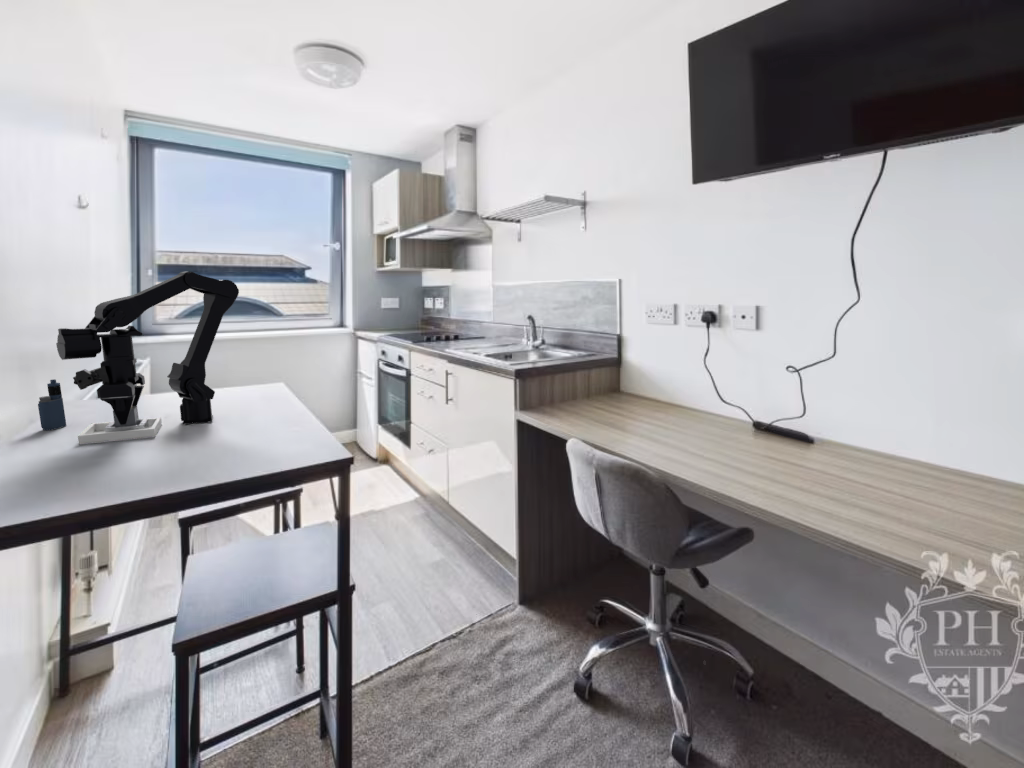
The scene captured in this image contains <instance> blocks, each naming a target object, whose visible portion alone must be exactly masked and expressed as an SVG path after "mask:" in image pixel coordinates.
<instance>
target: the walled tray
mask: <svg viewBox="0 0 1024 768" xmlns="http://www.w3.org/2000/svg"><path fill="white" fill-rule="evenodd" d="M147 419H148V422H149V429H138V430H127V431H117V432H106V433H105V427H106V426H107V425H108V424H109V423H110V422H111V421H107V422H105V421H104V422H94V423H90V424H89V425H88V426H87V427H86V428H85V429H84V430H82V431H81V432H80V433H79V434H78V435H77V438H78V439H77V440H78V441H77V442H78V445H86V444H87V445H89V444H96V443H97V444H98V443H107V442H116V441H117V442H119V441H128V440H138V439H146V438H147V439H149V438H155V437H156V436H157V434H158V433H159V431H160V429H161V428H162V426H163V424H162V423H163V422H162V417H153V418H152V417H151V418H147Z"/></svg>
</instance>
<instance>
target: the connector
mask: <svg viewBox="0 0 1024 768" xmlns="http://www.w3.org/2000/svg"><path fill="white" fill-rule="evenodd" d="M112 414H113V420H114V421H113V422H114V424H115V427H118V426H129V425H139V419H140V417H139V411H138V405H137V406H132V407H131V411H130V414H129V417H128V420H127V423H126V424H124V425H120V423H119V421H118V419H117V417H116V415H115V413H114V410H113V409H112Z"/></svg>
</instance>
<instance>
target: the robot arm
mask: <svg viewBox="0 0 1024 768" xmlns="http://www.w3.org/2000/svg"><path fill="white" fill-rule="evenodd" d="M188 290H192V291H195V292H198V293H201V294H203V297H202V300H203V311H202V313H201V316H200V319H199V321H198V323H197V327H196V329H195V331H194V334H193V337H192V340H191V343H190V345H189V346H188V350H187V352H186V355H185V357H184V359H183V360H182V361H181V362H180V363H178V362H173V363H172V365H171V369H170V370H171V371H170V373H169V374H168V375H167V378H169V379H168V385H169V387H170V389H171V390H173V392H176V393H177V396H178V397H179V398H181V404H180V406H179V412H180V419H181V422H182V424H183V425H191V424H202V423H203V424H204V423H211V422H212V423H213V419H214V414H213V410H212V401H211V400H213V399H214V396H215V393H216V391H215V390H214V389H212V388H211V387H209V386H208V385H207V384H206V383H205V382H206V376H207V374H206V373H207V372H206V362H207V359H208V357H209V355H210V354H209V353H210V351H211V348H212V346H213V344H214V341H215V338H216V336H217V334H218V330H219V328H220V325H221V322H222V319H223V316H224V315H225V313H226V312H227V311H229V310H230V308H231V307H232V306H233V305H234V304H235V301H236V300H237V299H238V297H239V293H240V292H239V291H240V290H239V287H238V286H237V284H236V283H235V282H234V281H232V280H229V279H217V278H213V277H209V276H205V275H201V274H200V273H199V274H198V273H196V272H194V271H181V272H179V273H177V274H176V275H174V276H172V277H169V278H168V279H165V280H162V281H161V282H159V283H157V284H155V285H153V286H150V287H148V288H145V289H144V290H142V291H139V292H137V293H134V294H133V295H127V296H123V297H118V298H115V299H111V300H106V301H103V302H100V303H99V304H97V305H96V306H95V309H94V317H92V319H91V320H90V321H89V322H88V324H87V325H86V326H85V327H84V328H67V327H65V328H62V327H61V328H57V331H58V335H57V342H56V348H57V353H58V355H59V357H60V359H61V360H62V361H65V360H77V359H79V360H81V359H90V358H91V359H92V358H96V357H97V355H98V354H100V353H101V352H102V356H103V360H102V361H101V362H100V367H98V368H93V369H91V370H87V369H85V368H84V369H82V370H79V371H76V372H75V376H73V377H72V379H73V385H77V387H78V388H79V390H80V391H81V390H85V389H87V388H88V387H90V386H94V385H96V384H99V383H102V385H100V387H97V389H96V394H97V398H98V399H99V400H101V401H102V402H105V403H106V404H109V405H110V406H111V409H112V411H113V410H114V413H115V415H116V417H117V419H118V421H119V423H120V425H124V424H126V423H127V420H128V417H129V414H130V411H131V407H132V406H137V407H138V403H139V400H140V399H141V396H142V392H143V390H144V388H145V384H146V379H145V375H143V374H142V373H140V372H137V367H136V363H137V358H136V357H135V352H134V345H133V344H134V343H133V337H135V336H137V337H138V336H139V337H140V336H143V332H141V331H140V330H138V329H137V328H136V327H135V326H134V325H130V324H131V323H132V322H134V321H136V320H137V319H138V318H140V317H141V315H143V314H144V312H145V313H146V311H147V310H149V309H150V308H152V307H155V306H157V305H158V304H161V303H162V302H165V301H166V300H167V301H168V300H169V299H171V298H173V297H175V296H177V295H179V294H181V293H184V292H185V291H188ZM124 327H125V328H124ZM98 333H100V334H98ZM103 333H104V334H103Z"/></svg>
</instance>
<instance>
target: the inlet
mask: <svg viewBox="0 0 1024 768" xmlns="http://www.w3.org/2000/svg"><path fill="white" fill-rule="evenodd" d="M148 419H149V418H139V425H129V426H118V427H115V424H114V421H109V422H110V423H109V424H108V425H107V426H106V427H105V433H106V432H117V431H127V430H138V429H149V422H148Z"/></svg>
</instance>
